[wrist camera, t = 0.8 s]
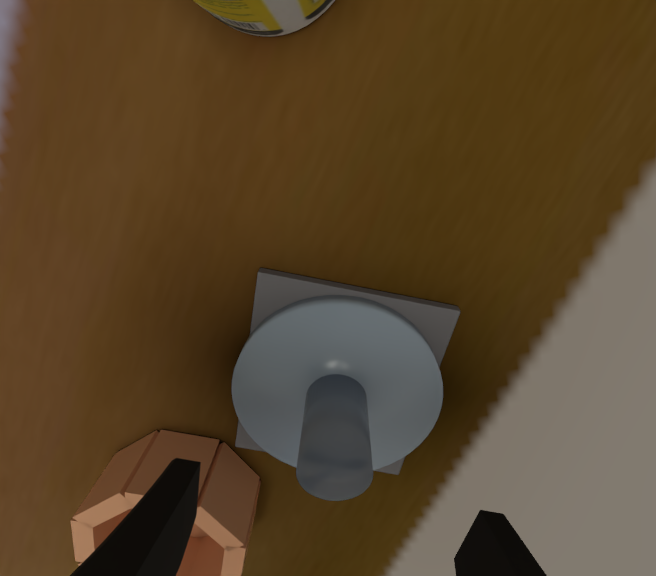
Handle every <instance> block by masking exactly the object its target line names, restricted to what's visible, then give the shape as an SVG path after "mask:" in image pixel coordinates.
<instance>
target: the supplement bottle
mask: <svg viewBox="0 0 656 576" xmlns="http://www.w3.org/2000/svg"><path fill="white" fill-rule="evenodd" d="M193 1H194V2H196V3H197V4H198V5H200V6H201V7H202V8H204V9H205V10H206V11H208V12H209V13H210V14H212V15H213V16H214V17H215V18H217V19H218V20H220V21H222V22H223V23H225V24H227V25H228V26H230V27H232V28H234V29H236V30H239V31H241V32H244V33H248V34H251V35H256V36H279V35H285V34H289V33H292V32H295V31H297V30H299V29H301V28H303V27H305V26H307V25H309V24H310V23H311V22H313V21H314V20H316V19H317V18H318V17H319V16H321V15H322V14H323V13H324V12H325V11H326V10H327V9H328V8H329V7H330V6H331V5H332V3H333V2H334V1H335V0H193Z"/></svg>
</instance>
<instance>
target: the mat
mask: <svg viewBox="0 0 656 576" xmlns="http://www.w3.org/2000/svg"><path fill="white" fill-rule="evenodd" d="M325 295H347V296H355V297H361V298H365V299H369V300H372V301H375V302H378V303H380V304H383V305H385V306H388V307H389V308H391V309H393V310H395V311H397V312H399V313H400V314H401V315H403V316H404V317H405V318H407V319H408V320H409V321H410V322H412V323H413V324H414V325H415V326H416V327H417V328H418V329H419V331H420V332H421V333H422V334H423V336H424V337H425V338H426V340H427V342H428V343H429V345H430V347H431V349H432V351H433V354H434V356H435V359H436V362H437V364H438V367H440V364H441V362H442V359H443V356H444V354H445V351H446V348H447V346H448V343H449V341H450V338H451V335H452V333H453V330H454V327H455V325H456V322H457V320H458V317H459V314H460V312H461V311H460V309H459V308H458V306H455V305H449V304H444V303H439V302H434V301H429V300H424V299H419V298H414V297H408V296H403V295H398V294H393V293H388V292H383V291H378V290H373V289H367V288H362V287H357V286H352V285H347V284H342V283H337V282H332V281H326V280H321V279H316V278H311V277H306V276H301V275H296V274H291V273H285V272H280V271H275V270H270V269H265V268H260V269H259V271H258V276H257V283H256V291H255V298H254V306H253V314H252V321H251V329H250V335H251V333H252V332H253V331H254V330H255V328H256V327H257V326H258V325H259V324H260V323H261V322H262V321H264V320H265V319H266V318H267V317H268V316H270V315H271V314H273V313H274V312H276V311H277V310H279V309H281V308H283V307H285V306H287V305H289V304H291V303H294V302H297V301H300V300H303V299H307V298H311V297H316V296H325ZM235 447H240V448H246V449H252V450H258V451H263V452H266V451H265V450H263V449H262V448H261V447H260V446H259V445H258V444H257V443H256V442H255V441H254V440H253V439H252V438H251V437H250V436H249V434H248V433H247V432H246V430H245V429H244V427H243V426H242V424H241V423H240V420H239V421H238V428H237V436H236V444H235ZM404 459H405V457H403V458H402V459H400V460H398V461H396V462H394V463H392V464H390V465H388V466H385V467H382V468H380V469H376V470H373V471H379V472H385V473H391V474H396V475H398V474H399V472H400V469H401V466H402V464H403V461H404Z"/></svg>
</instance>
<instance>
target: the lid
mask: <svg viewBox="0 0 656 576" xmlns="http://www.w3.org/2000/svg"><path fill="white" fill-rule="evenodd" d="M232 399H233V404H234V408H235V411H236V414H237V416H238V418H239V420H240V423H241V424H242V426H243V427H244V429H245V430H246V432H247V433H248V434H249V436H250V437H251V438H252V439H253V440H254V441H255V442H256V443H257V444H258V445H259V446H260V447H261V448H262V449H263V450H265V451H266V452H268V453H269V454H270V455H272V456H273V457H275V458H277V459H279V460H280V461H282V462H284V463H287V464H289V465H291V466H293V467H296V476H297V479H298V482H299V484H300V485H301V486H302V488H303V489H304V490H306V491H307V492H308V493H310V494H311V495H313V496H315V497H318V498H321V499H324V500H330V501H342V500H347V499H351V498H354V497H356V496H358V495H360V494H362V493H363V492H364V491H365V490H366V489H367V488H368V487H369V486H370V484H371V482H372V479H373V470H376V469H380V468H382V467H385V466H388V465H390V464H392V463H394V462H396V461H398V460H400V459H402V458H403V457H405V456H406V455H408V454H409V453H411V452H412V451H413V450H414V449H415V448H417V447H418V446H419V445H420V444H421V443H422V442H423V441H424V439H425V438H426V437H427V436H428V434H429V433H430V432H431V430H432V429H433V427H434V425H435V423H436V421H437V419H438V417H439V413H440V410H441V407H442V400H443V382H442V377H441V373H440V370H439V367H438V364H437V362H436V359H435V356H434V354H433V351H432V349H431V347H430V345H429V343H428V342H427V340H426V338H425V337H424V336H423V334H422V333H421V332H420V331H419V329H418V328H417V327H416V326H415V325H414V324H413V323H412V322H410V321H409V320H408V319H407V318H405V317H404V316H403V315H401V314H400V313H399V312H397V311H395V310H393V309H391V308H389V307H388V306H385V305H383V304H380V303H378V302H375V301H372V300H369V299H365V298H361V297H355V296H347V295H325V296H316V297H311V298H307V299H303V300H300V301H297V302H294V303H291V304H289V305H287V306H285V307H283V308H281V309H279V310H277V311H276V312H274V313H273V314H271V315H270V316H268V317H267V318H266V319H265V320H264V321H262V322H261V323H260V324H259V325H258V326H257V327H256V328H255V330H254V331H253V332H252V333H251V335H250V336H249V337H248V339H247V341H246V343H245V344H244V346H243V349H242V351H241V353H240V356H239V358H238V360H237V363H236V366H235V368H234V373H233V378H232Z"/></svg>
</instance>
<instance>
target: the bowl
mask: <svg viewBox="0 0 656 576" xmlns="http://www.w3.org/2000/svg"><path fill="white" fill-rule="evenodd" d="M219 441H220V440H219V439H213V438H207V437H201V436H196V435H190V434H184V433H178V432H173V431H167V430H161V431H160V432H158V431H157V430H156V431H154V432H152V433H151V434H149V435H147V436H145V437H143V438H142V439H140V440H138V441H136V442H135V443H133V444H131V445H129V446H127V447H126V448H124V449H122V450H120V451H119V452H117V453H116V454H115V455H114V457H113V458H112V459H111V461H110V462H109V464H108V465H107V467H106V468H105V470H104V471H103V473H102V474H101V476H100V477H99V479H98V480H97V482H96V483H95V485H94V486H93V488H92V489H91V491H90V492H89V494H88V495H87V497H86V498H85V500H84V501H83V502H82V504H81V505H80V507H79V508H78V510H77V511H76V513H75V514H74V516H73V518H72V519H71V528H72V536H73V544H74V553H75V561H77V562H79V564H78V565H79V566H80V565H81V564H82V563H83V562H84V561H85V560H86V559H87V558H88V557H89V556H90V555H91V554H92V553H93V552H94V551H95V550H96V548H97V547H98V546H99V545H100V544H101V543H102V542H103V541H104V540H105V539H106V538H107V537H108V535H109V534H110V533H111V532H112V531H113V530H114V529H115V528H116V527H117V526H118V524H119V523H120V522H121V521H122V520H123V519H124V518H125V517H126V516H127V515H128V513H129V512H130V511H131V510H132V509H133V508H134V507H135V505H136V504H137V503H138V502H139V501H140V499H141V498H142V497H143V496H144V495H145V494H146V492H147V491H148V490H149V489H150V488H151V486H152V485H153V484H154V483H155V481H156V480H157V479H158V478H159V476H160V475H161V474H162V473H163V471H164V470H165V469H166V467H167V466H168V465H169V463H170V462H171V461H172V460H173V459H175V458H180V459H186V460H192V461H198V462H201V465H200V478H199V490H198V502H197V514H196V519H195V522H194V525H193V528H192V531H191V534H190V538H189V541H188V544H187V547H186V550H185V553H184V556H183V559H182V562H181V565H180V567H179V569H178V572H177V574H176V576H242V573H243V568H244V564H245V559H246V554H247V550H248V545H249V541H250V536H251V532H252V527H253V523H254V518H255V513H256V507H257V502H258V496H259V490H260V485H261V481H259V479H260V477H259V476H258V475H257V474H256V473H255V472H254V471H253V470H252V469H251V468H250V467H249V466H248V465H247V464H246V463H245V462H244V461H243V460H242V459H241V458H240V457H239V456H238V455H237V454H236V453H235V452H234V451H233V450H232V449H231V448H230V447H229V446H228V445H227V444H226V443H225V442H223V443H221V444H219Z"/></svg>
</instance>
